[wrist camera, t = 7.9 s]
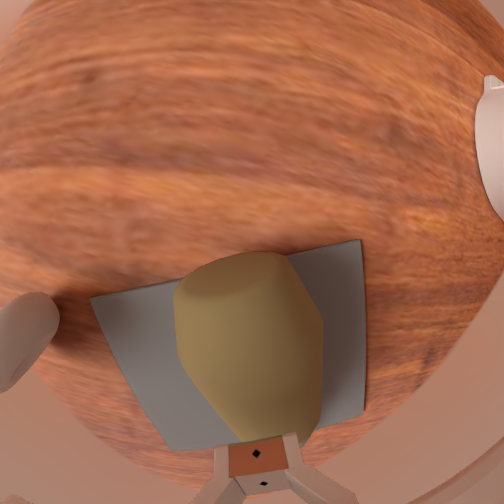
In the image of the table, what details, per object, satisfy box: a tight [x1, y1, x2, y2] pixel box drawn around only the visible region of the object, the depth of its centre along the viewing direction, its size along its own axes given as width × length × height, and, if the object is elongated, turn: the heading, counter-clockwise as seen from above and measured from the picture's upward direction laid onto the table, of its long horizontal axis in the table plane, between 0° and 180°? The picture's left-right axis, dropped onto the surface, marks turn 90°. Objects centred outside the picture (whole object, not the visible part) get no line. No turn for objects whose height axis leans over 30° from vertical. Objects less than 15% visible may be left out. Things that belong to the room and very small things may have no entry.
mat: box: [89, 239, 366, 451], centre depth 20 cm, size 20×18×1 cm
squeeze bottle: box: [173, 251, 323, 448], centre depth 16 cm, size 8×8×18 cm
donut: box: [0, 292, 60, 393], centre depth 13 cm, size 10×4×10 cm, turn 132°
